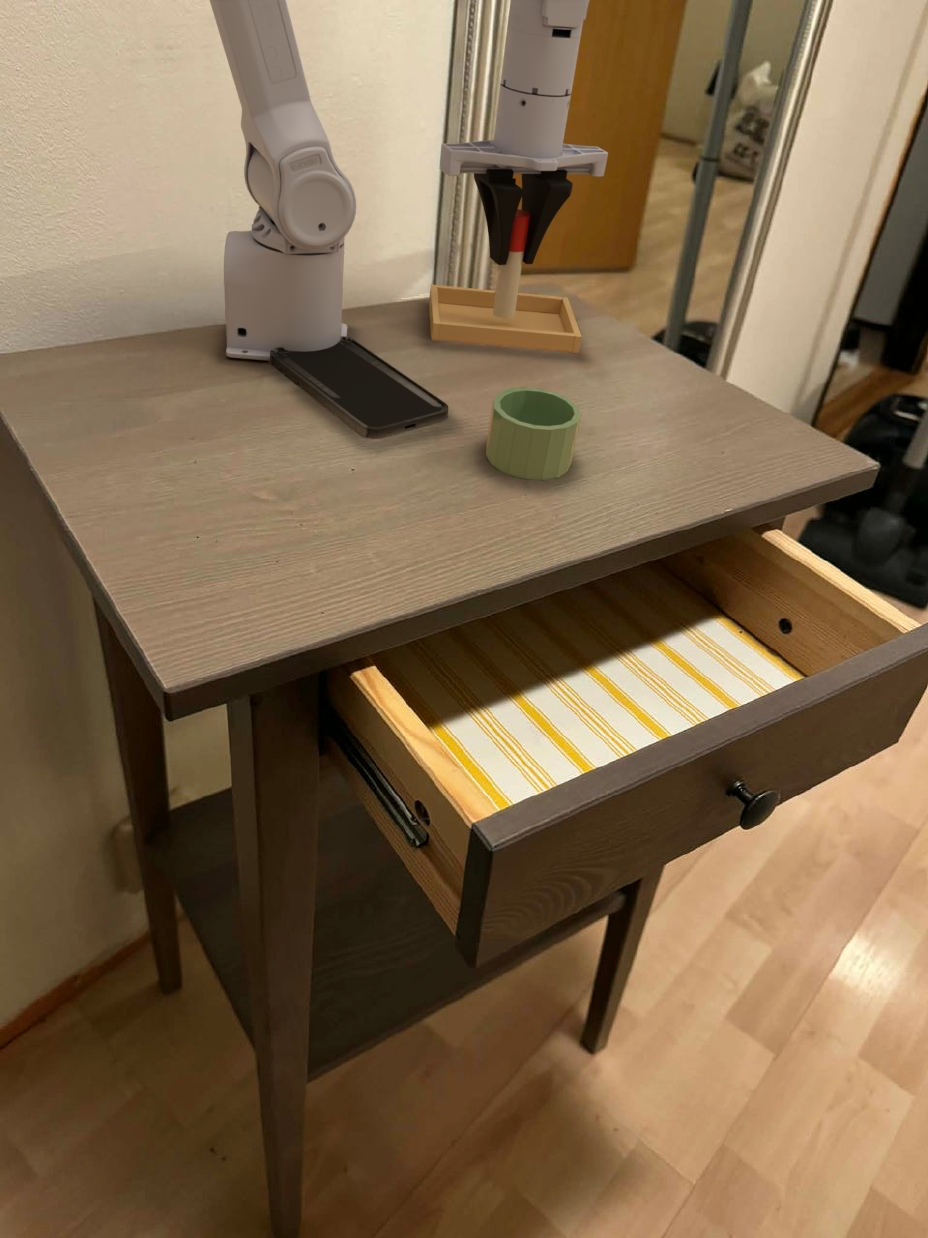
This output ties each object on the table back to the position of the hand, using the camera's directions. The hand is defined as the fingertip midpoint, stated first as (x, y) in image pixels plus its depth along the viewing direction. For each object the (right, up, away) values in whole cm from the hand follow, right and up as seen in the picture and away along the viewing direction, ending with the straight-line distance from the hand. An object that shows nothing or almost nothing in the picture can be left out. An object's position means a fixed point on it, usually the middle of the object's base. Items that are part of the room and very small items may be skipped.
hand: (510, 260), depth 83 cm
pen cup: (0, -20, -14) cm, 25 cm away
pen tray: (-1, -5, +4) cm, 6 cm away
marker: (-1, -4, +3) cm, 5 cm away
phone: (-13, -14, -9) cm, 21 cm away
